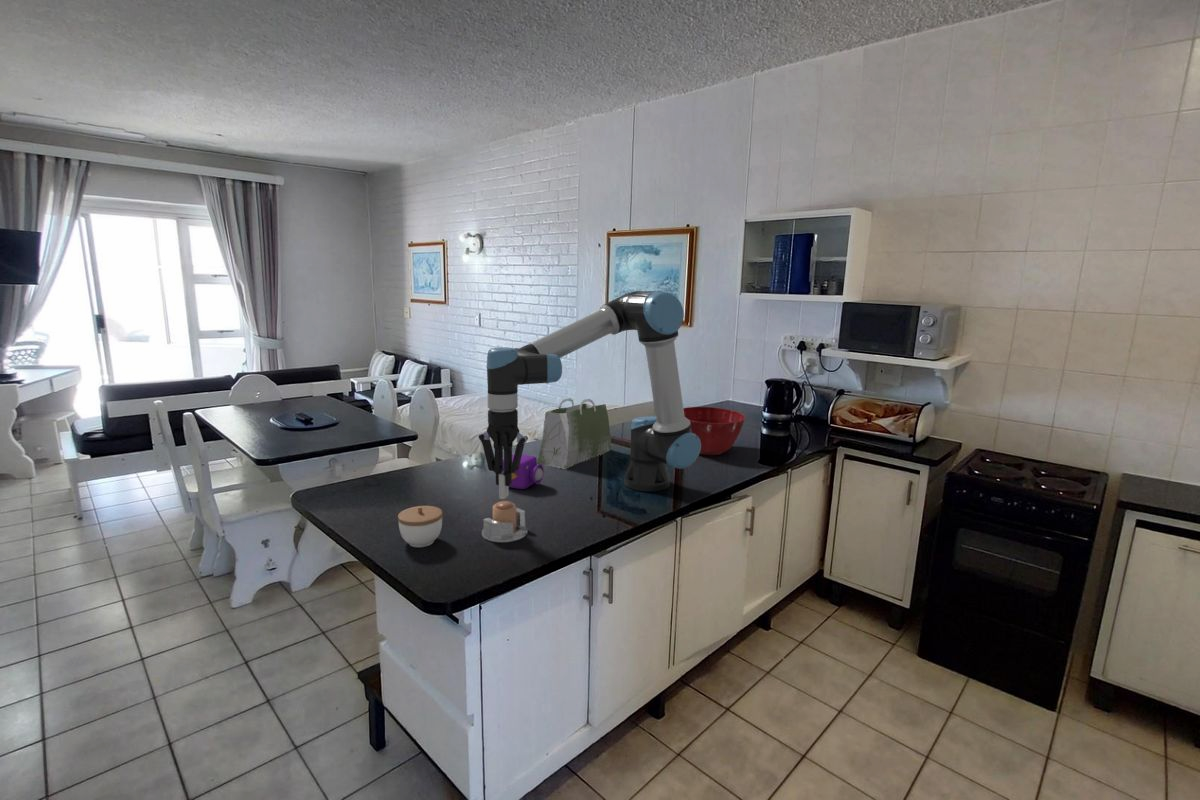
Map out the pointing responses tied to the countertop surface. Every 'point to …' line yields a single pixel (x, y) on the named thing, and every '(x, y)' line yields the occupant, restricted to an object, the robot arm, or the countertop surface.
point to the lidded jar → (420, 525)
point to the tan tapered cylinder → (505, 512)
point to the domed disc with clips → (505, 529)
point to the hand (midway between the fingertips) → (503, 496)
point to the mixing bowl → (714, 427)
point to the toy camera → (526, 472)
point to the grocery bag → (574, 434)
